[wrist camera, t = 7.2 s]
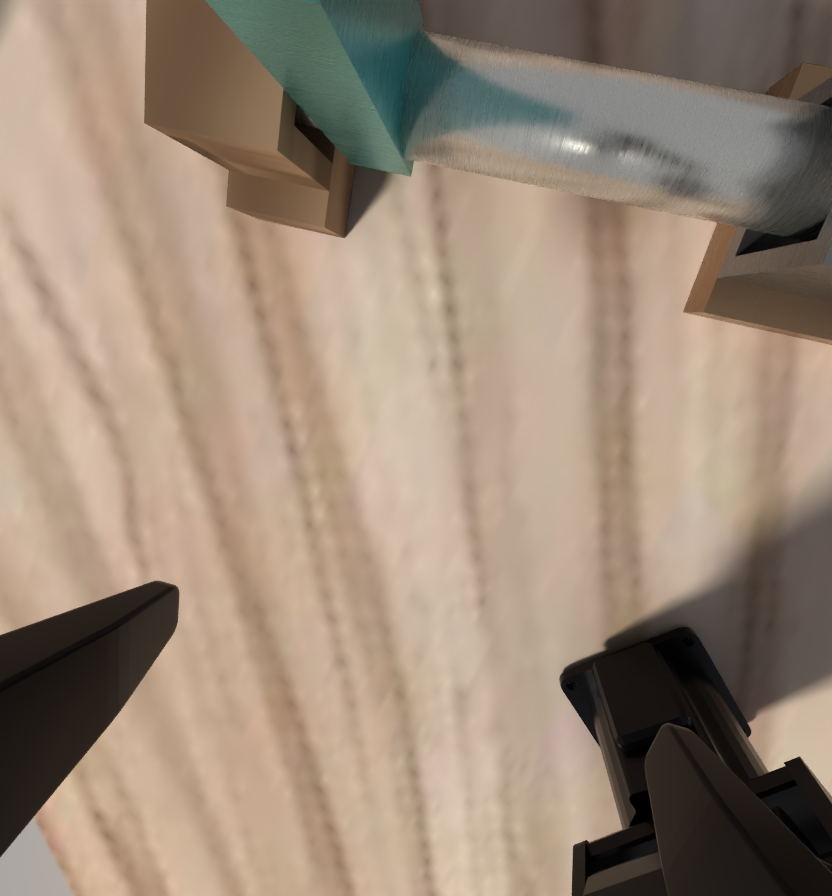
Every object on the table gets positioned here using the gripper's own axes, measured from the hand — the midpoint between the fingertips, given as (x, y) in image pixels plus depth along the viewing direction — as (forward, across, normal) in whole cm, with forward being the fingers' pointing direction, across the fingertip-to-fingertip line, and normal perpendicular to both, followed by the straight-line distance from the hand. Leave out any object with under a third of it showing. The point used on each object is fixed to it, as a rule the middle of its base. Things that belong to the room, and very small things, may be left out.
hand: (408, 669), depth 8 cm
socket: (+12, +8, -11) cm, 18 cm away
